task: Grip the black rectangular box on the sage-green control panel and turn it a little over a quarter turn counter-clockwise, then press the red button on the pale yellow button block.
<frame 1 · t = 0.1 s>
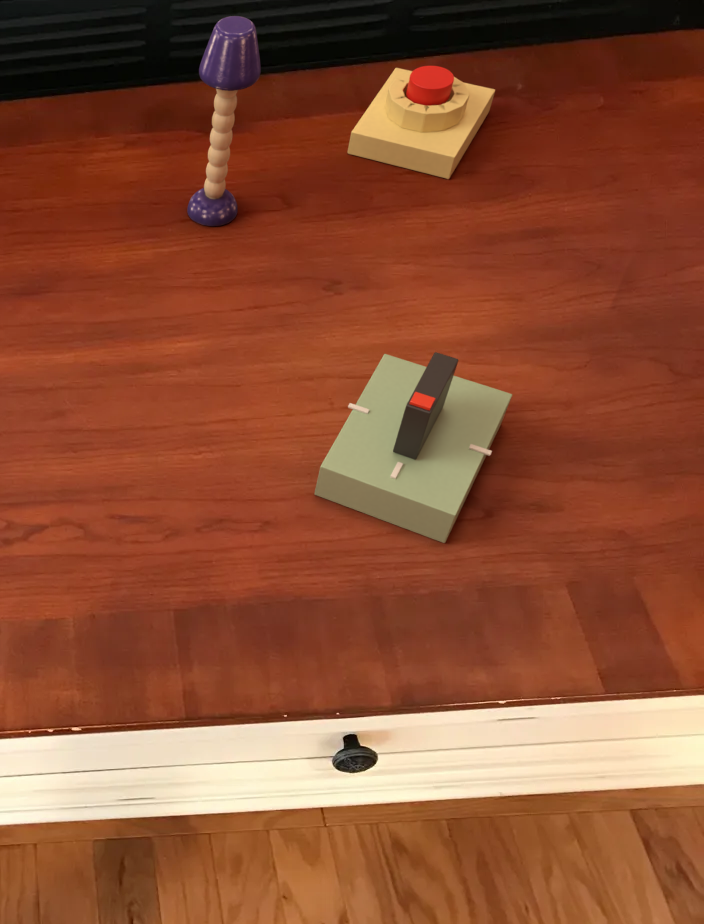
button: (429, 86, 98), point 4 cm above the table, slide at 0.1 cm
black rectangular box: (425, 404, 75), point 5 cm above the table, hinge at 0.0°
toy lamp: (216, 213, 98), on the table
button block: (418, 132, 102), on the table
panel: (408, 458, 80), on the table
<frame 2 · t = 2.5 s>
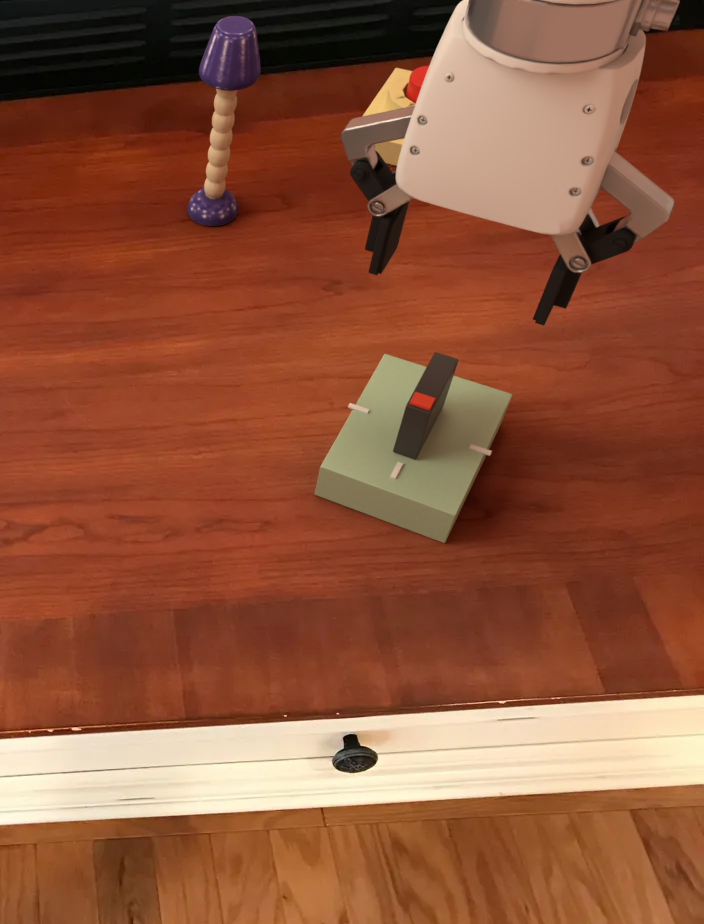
hand: (461, 284, 68), 15 cm above the table, tool pointing down, fingers open, 9 cm apart
nothing on the table moved.
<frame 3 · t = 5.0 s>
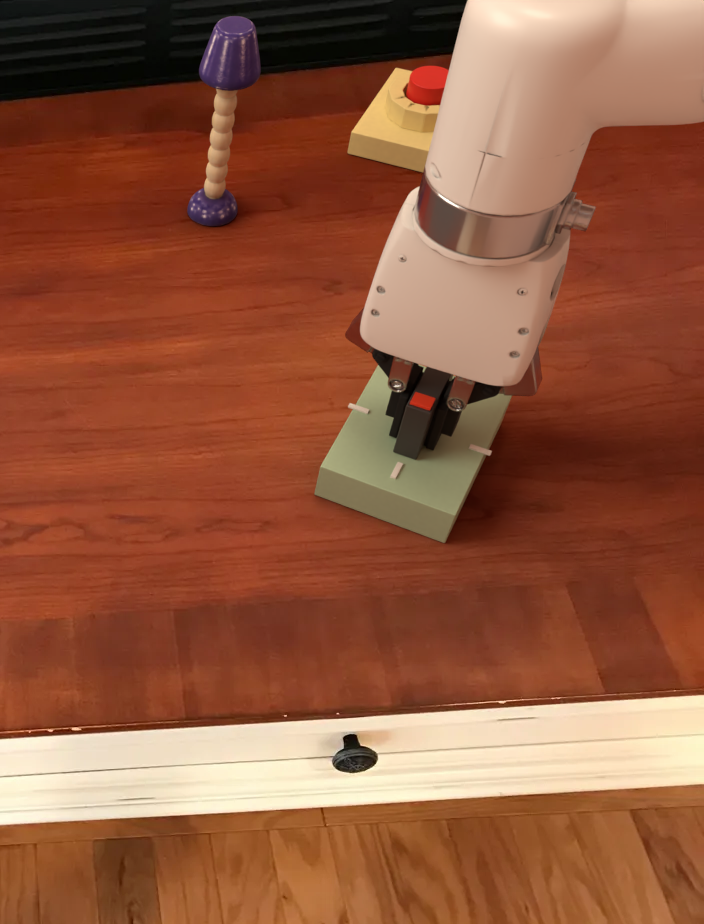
hand: (418, 428, 77), 3 cm above the table, tool pointing down, fingers closed on black rectangular box
black rectangular box: (425, 404, 75), point 5 cm above the table, hinge at 0.4°, touching gripper
everything else where it was.
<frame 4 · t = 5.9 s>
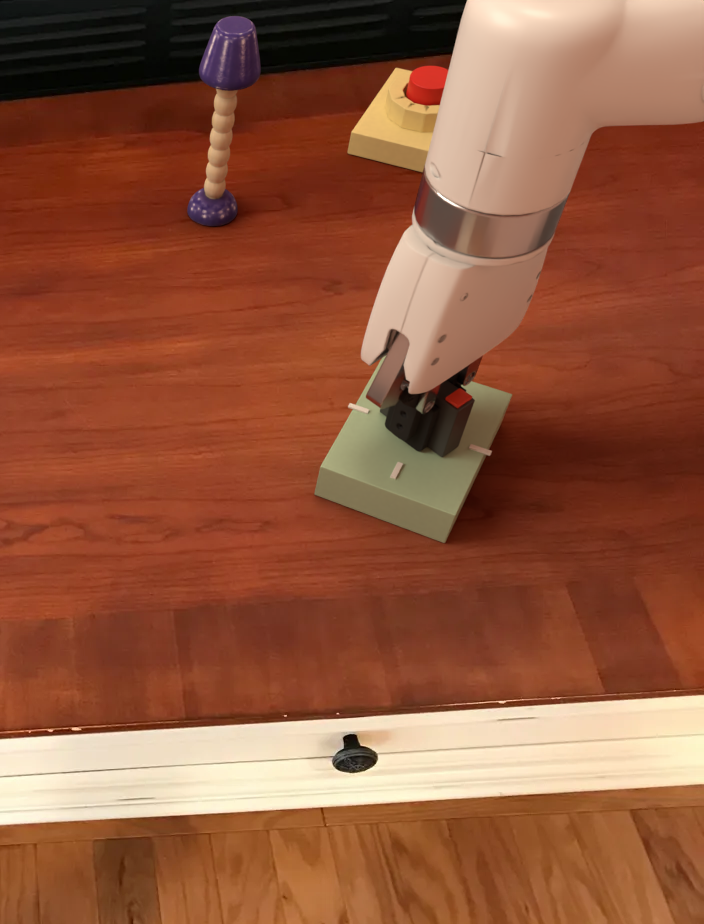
hand: (418, 427, 77), 3 cm above the table, tool pointing down, fingers closed, pressing on black rectangular box
black rectangular box: (425, 404, 75), point 5 cm above the table, hinge at 67.1°, touching gripper
everything else where it was.
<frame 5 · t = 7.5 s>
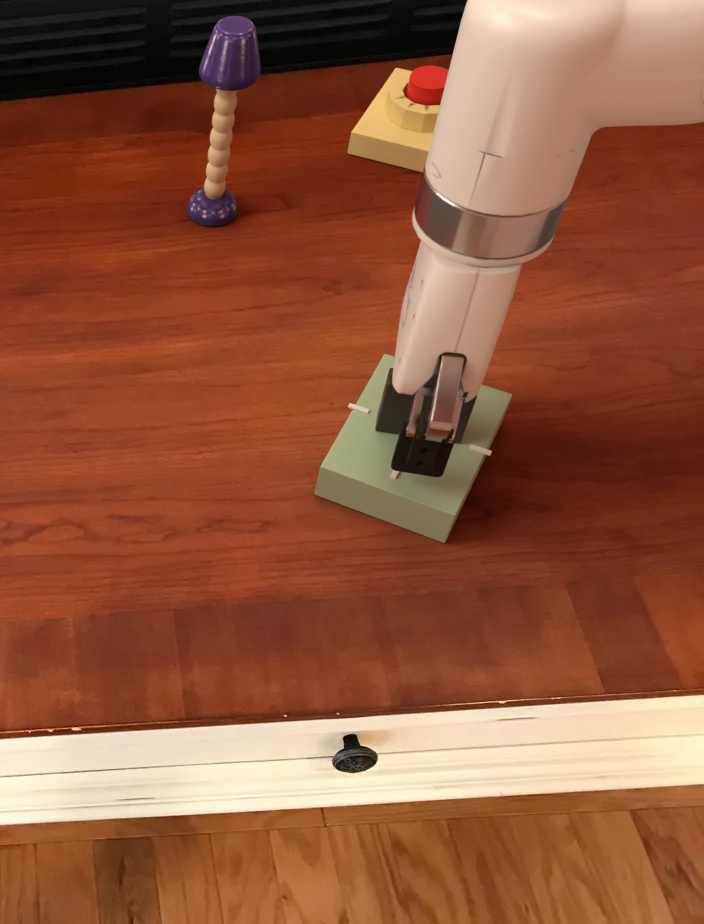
hand: (422, 416, 76), 4 cm above the table, tool pointing down, fingers open, 9 cm apart
black rectangular box: (425, 404, 75), point 5 cm above the table, hinge at 104.7°
everything else where it was.
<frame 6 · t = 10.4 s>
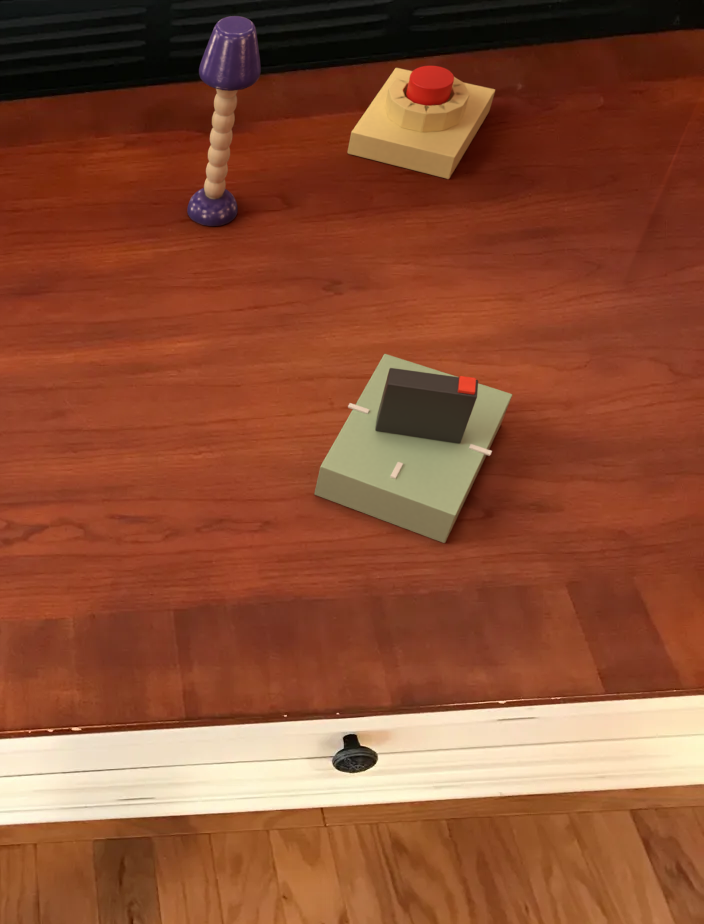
nothing on the table moved.
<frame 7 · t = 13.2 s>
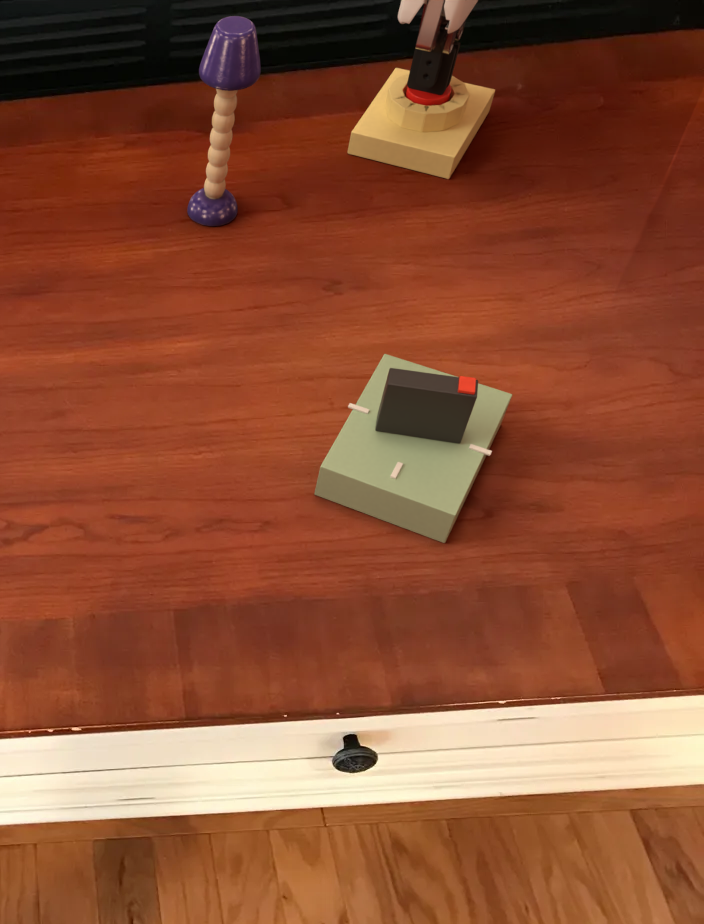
hand: (427, 86, 98), 4 cm above the table, tool pointing down, fingers closed
button: (427, 96, 99), point 4 cm above the table, slide at -0.9 cm, touching gripper
everything else where it was.
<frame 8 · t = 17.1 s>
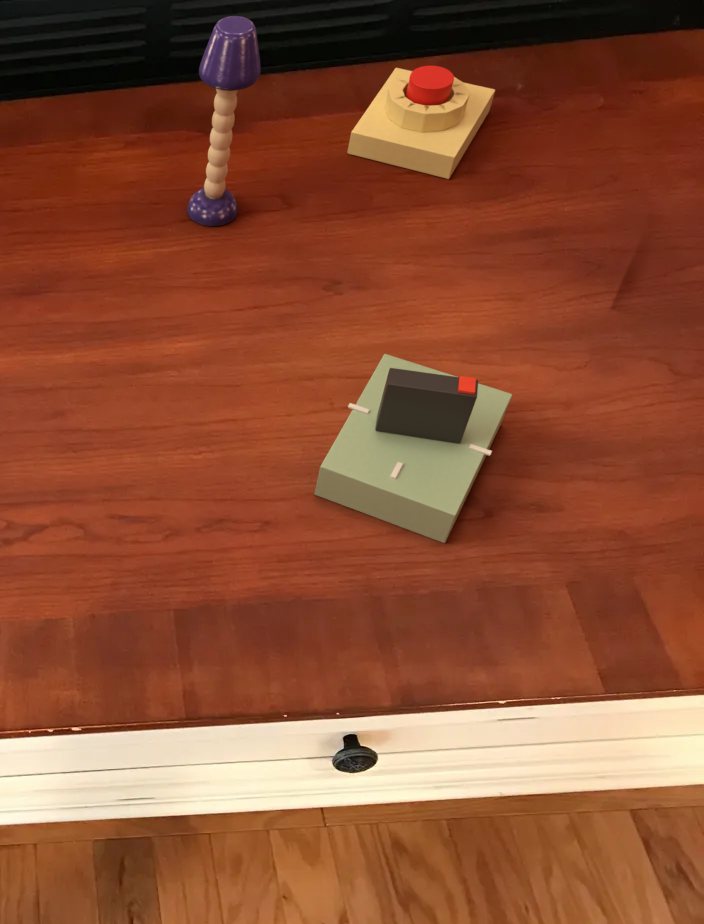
button: (429, 86, 98), point 5 cm above the table, slide at 0.1 cm
everything else where it was.
at the end: black rectangular box at +105° (first picture: +0°); button pushed in 1.1 cm at the most during the clip, back to where it started at the end; button slide at 0.1 cm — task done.
